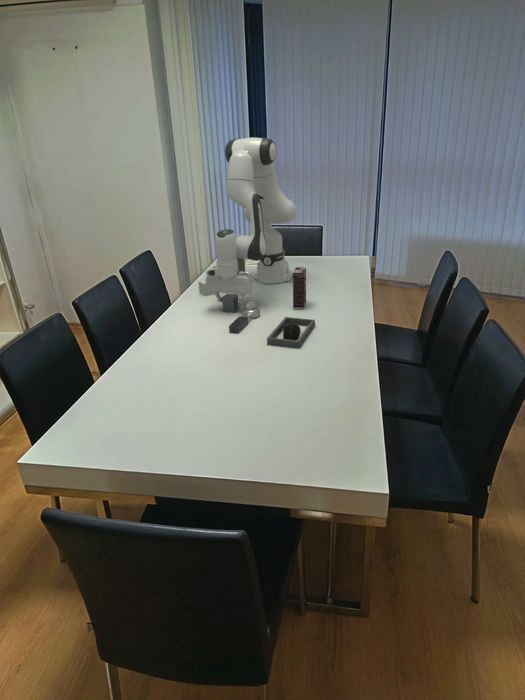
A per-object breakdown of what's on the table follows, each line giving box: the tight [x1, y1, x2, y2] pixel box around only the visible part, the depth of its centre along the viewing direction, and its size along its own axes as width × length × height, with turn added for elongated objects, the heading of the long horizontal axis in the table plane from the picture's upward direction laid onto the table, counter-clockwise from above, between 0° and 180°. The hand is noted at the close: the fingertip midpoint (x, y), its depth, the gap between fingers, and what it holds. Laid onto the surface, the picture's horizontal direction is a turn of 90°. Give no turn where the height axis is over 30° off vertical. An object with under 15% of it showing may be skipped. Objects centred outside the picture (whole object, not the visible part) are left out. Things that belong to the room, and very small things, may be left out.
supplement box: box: [292, 266, 307, 310], centre depth 205 cm, size 9×5×16 cm, turn 168°
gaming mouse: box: [282, 324, 301, 340], centre depth 180 cm, size 6×15×4 cm, turn 173°
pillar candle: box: [237, 258, 246, 272], centre depth 248 cm, size 10×10×15 cm
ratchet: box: [228, 300, 261, 334], centre depth 193 cm, size 22×7×6 cm, turn 159°
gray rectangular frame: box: [266, 316, 316, 349], centre depth 181 cm, size 21×12×2 cm, turn 159°
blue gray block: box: [221, 293, 240, 314], centre depth 206 cm, size 5×5×6 cm
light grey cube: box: [198, 279, 215, 297], centre depth 228 cm, size 6×6×6 cm
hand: (230, 302), depth 206 cm, fingers open, 8 cm apart
